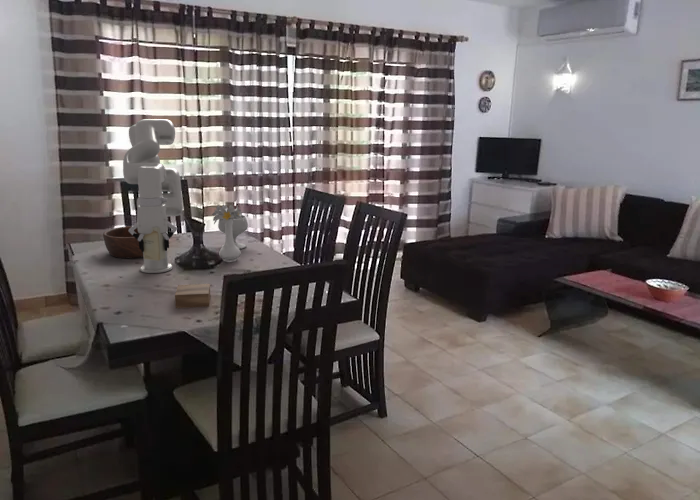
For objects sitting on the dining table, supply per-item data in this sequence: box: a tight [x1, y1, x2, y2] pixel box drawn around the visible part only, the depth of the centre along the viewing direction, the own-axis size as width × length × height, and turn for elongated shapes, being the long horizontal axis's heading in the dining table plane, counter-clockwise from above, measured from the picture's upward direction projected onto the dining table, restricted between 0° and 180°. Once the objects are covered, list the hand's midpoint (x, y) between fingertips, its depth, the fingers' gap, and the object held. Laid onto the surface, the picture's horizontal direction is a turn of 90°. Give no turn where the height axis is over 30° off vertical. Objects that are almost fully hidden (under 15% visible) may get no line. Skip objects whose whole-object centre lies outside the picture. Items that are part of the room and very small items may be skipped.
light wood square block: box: [174, 283, 211, 309], centre depth 193 cm, size 11×11×5 cm
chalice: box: [217, 214, 249, 250], centre depth 267 cm, size 14×14×15 cm
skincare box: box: [143, 227, 165, 261], centre depth 197 cm, size 6×4×12 cm
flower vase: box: [211, 204, 244, 263], centre depth 243 cm, size 13×18×25 cm
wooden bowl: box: [102, 225, 143, 259], centre depth 253 cm, size 25×25×10 cm
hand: (154, 250), depth 198 cm, fingers closed on skincare box, 7 cm apart
